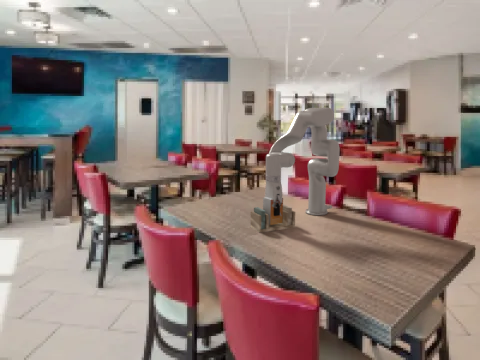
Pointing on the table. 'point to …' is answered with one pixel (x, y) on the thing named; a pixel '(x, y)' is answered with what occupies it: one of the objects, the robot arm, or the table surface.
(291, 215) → the book rack
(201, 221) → the table surface
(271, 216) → the small box
